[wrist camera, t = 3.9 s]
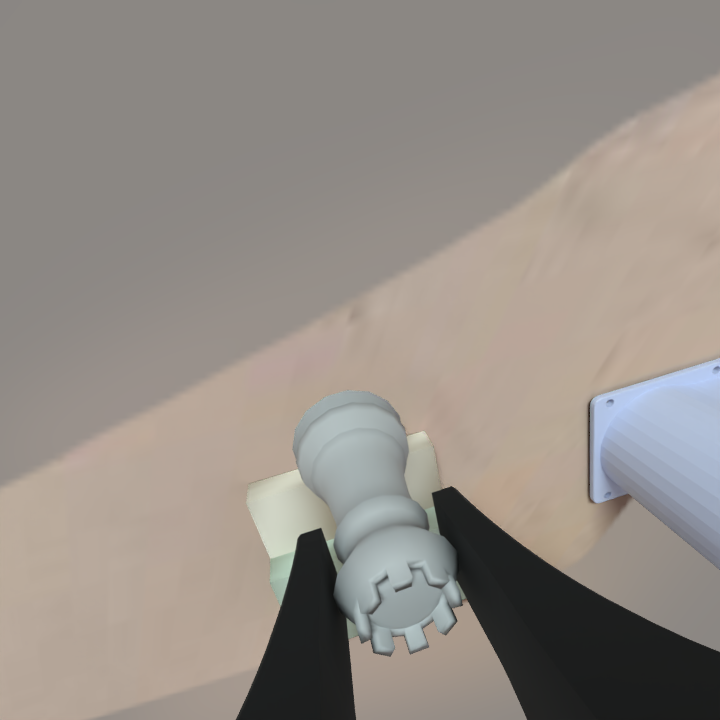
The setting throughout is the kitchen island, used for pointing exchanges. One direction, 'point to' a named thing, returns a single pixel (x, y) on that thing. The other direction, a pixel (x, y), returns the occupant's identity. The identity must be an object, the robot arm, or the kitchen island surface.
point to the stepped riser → (326, 512)
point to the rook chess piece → (376, 522)
